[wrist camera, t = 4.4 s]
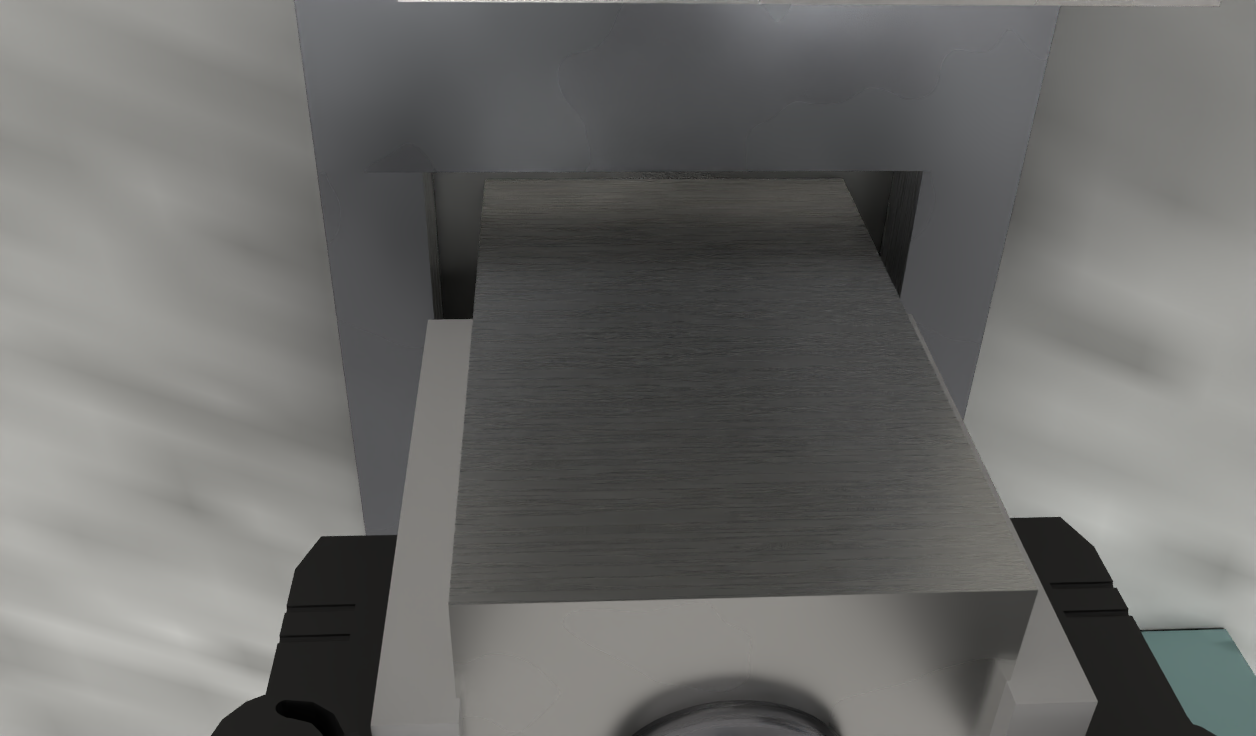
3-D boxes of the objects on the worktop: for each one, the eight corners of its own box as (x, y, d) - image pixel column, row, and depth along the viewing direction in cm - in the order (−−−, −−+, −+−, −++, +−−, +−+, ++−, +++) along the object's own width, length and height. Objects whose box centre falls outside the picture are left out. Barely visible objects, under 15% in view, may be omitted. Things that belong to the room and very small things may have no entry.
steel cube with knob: (485, 179, 16) (445, 632, 10) (842, 177, 17) (1051, 616, 10) (498, 461, 19) (474, 965, 12) (803, 456, 20) (943, 942, 13)
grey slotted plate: (150, -1310, 9) (104, -1411, 8) (1284, -1222, 10) (1368, -1308, 9) (386, 577, 20) (378, 630, 20) (899, 564, 21) (917, 615, 20)
